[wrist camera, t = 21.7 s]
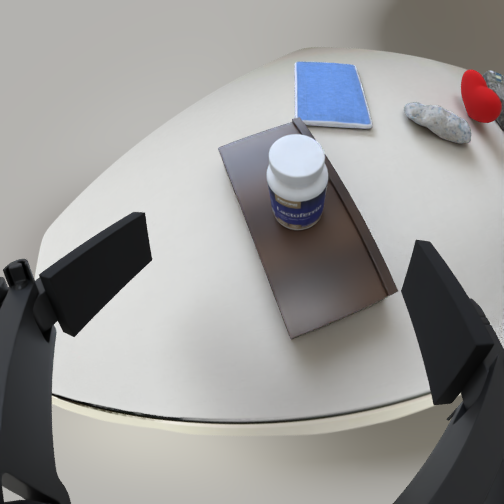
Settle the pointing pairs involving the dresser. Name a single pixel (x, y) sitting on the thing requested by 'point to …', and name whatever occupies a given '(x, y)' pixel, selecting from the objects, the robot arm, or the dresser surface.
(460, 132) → the decorative stone
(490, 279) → the dresser surface
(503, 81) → the rock
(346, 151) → the dresser surface
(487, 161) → the dresser surface
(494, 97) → the heart
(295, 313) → the ledge
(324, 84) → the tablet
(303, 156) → the pill bottle
